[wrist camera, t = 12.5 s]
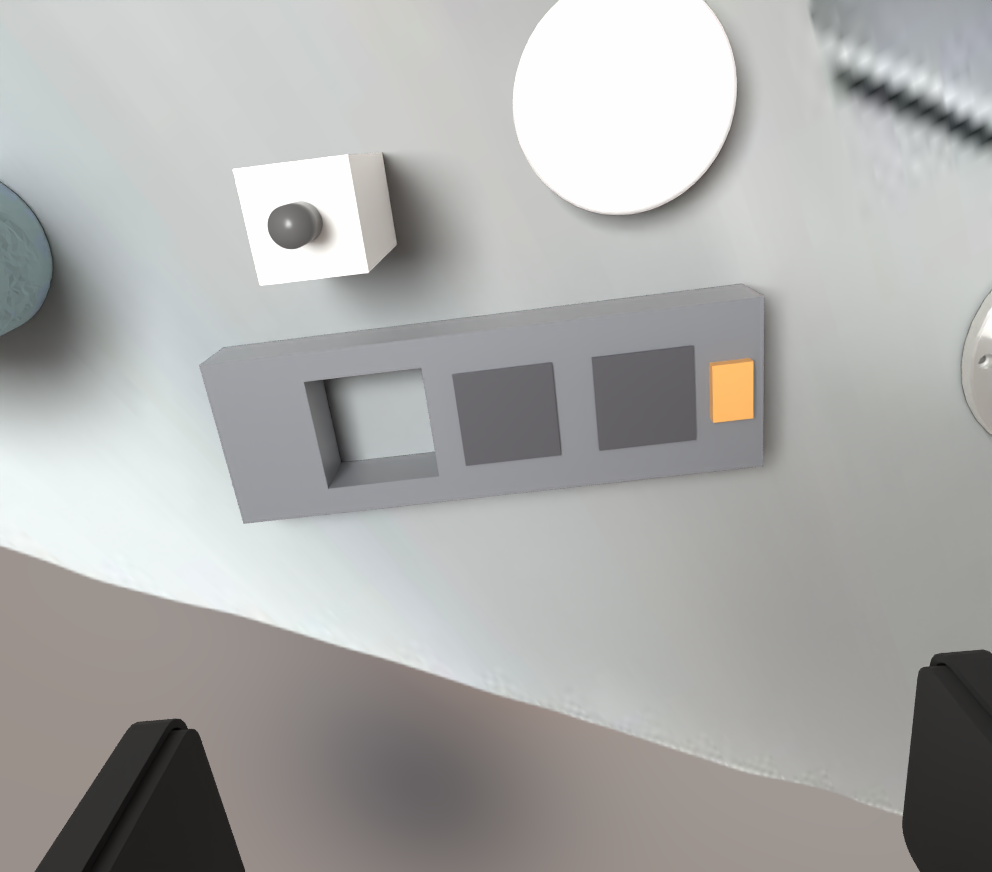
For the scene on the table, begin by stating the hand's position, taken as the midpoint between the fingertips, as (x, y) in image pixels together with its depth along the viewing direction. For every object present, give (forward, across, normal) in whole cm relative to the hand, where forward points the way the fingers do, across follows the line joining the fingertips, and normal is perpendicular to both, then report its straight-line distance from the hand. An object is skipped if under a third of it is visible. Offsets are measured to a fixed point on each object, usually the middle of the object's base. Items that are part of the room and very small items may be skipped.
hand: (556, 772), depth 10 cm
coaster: (+32, -6, -9) cm, 34 cm away
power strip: (+32, +2, +5) cm, 32 cm away
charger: (+32, +8, -6) cm, 33 cm away
